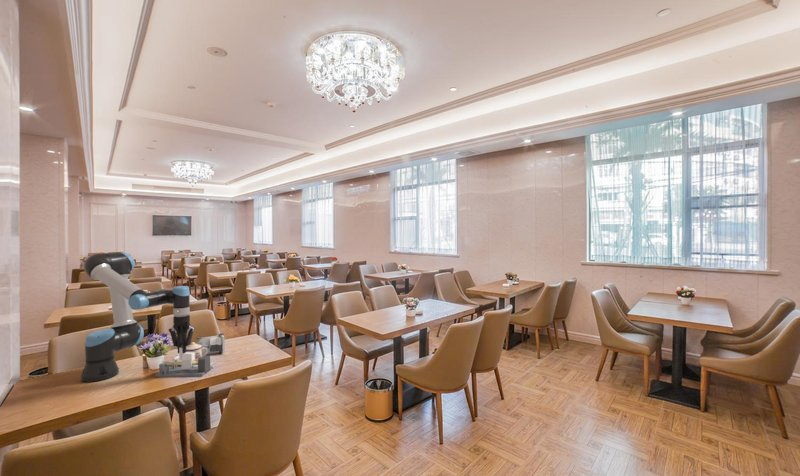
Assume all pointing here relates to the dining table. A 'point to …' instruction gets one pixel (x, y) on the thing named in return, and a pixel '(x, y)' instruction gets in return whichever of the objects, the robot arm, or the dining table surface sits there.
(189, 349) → the teacup with lid
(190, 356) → the marker sleeve
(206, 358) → the grey stepped fixture
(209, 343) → the toy buggy
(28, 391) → the dining table surface
